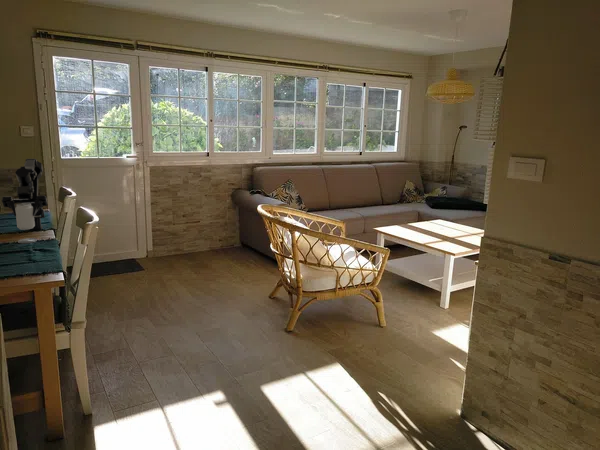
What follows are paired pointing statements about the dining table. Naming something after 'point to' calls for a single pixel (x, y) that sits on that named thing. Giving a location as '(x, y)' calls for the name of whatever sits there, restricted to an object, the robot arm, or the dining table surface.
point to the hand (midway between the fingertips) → (24, 215)
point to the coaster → (27, 240)
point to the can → (24, 216)
